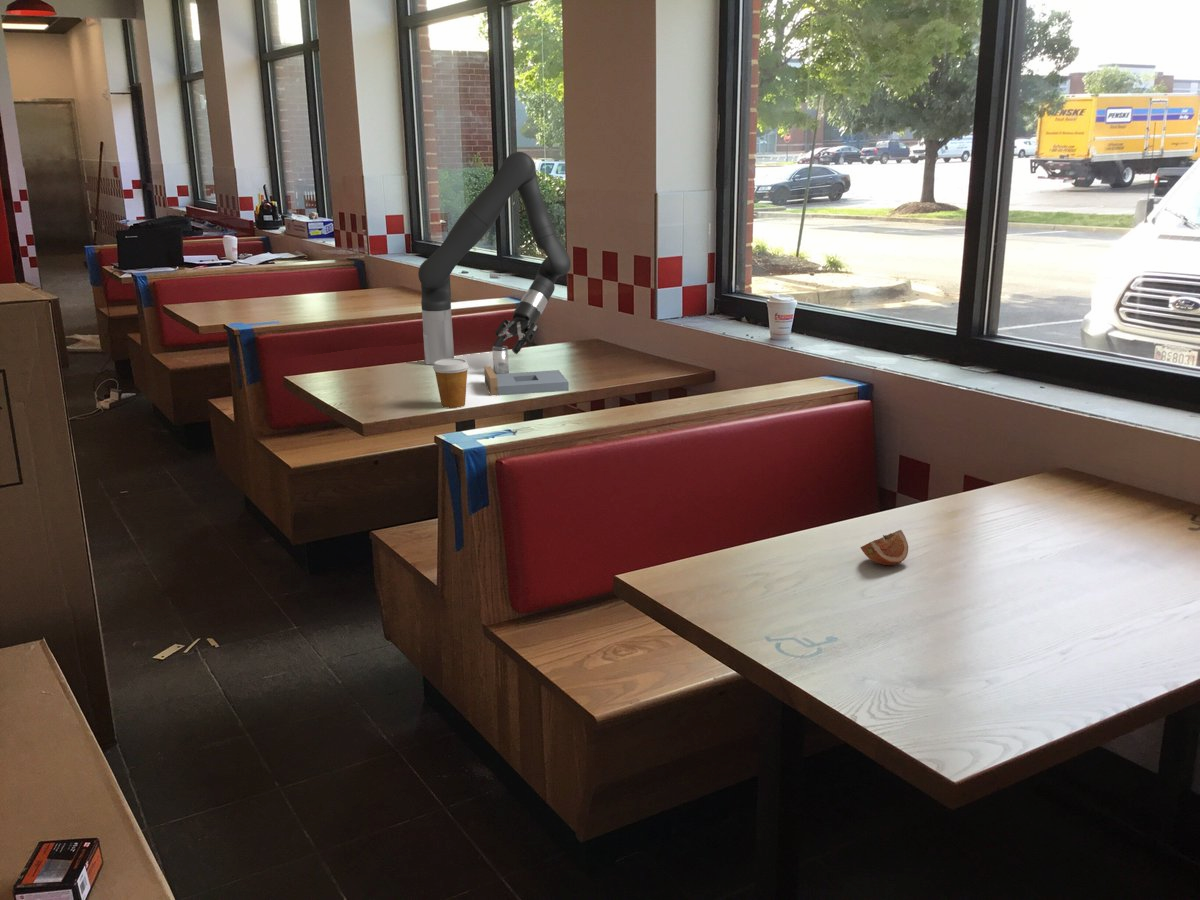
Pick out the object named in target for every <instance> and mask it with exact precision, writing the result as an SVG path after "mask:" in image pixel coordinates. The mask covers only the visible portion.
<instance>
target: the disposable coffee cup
mask: <svg viewBox="0 0 1200 900" xmlns="http://www.w3.org/2000/svg"><path fill="white" fill-rule="evenodd" d="M469 366H470V364H468V360H467V359H464V358H454V359H442V360H438V361H435V362H434V365H433V366H432V369H433V371H434V373H435V379H436V383H437V389H438V394H439V399H440V404H441V407H442V406H443V407H442V408H444V407H449V408H448V409H458V408H457V407H460V408H462V407H461V406H463V407H465V406H466V399H467V398H466V396H467V385H468V384H467V382H468V370H469ZM464 405H465V406H464Z"/></svg>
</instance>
